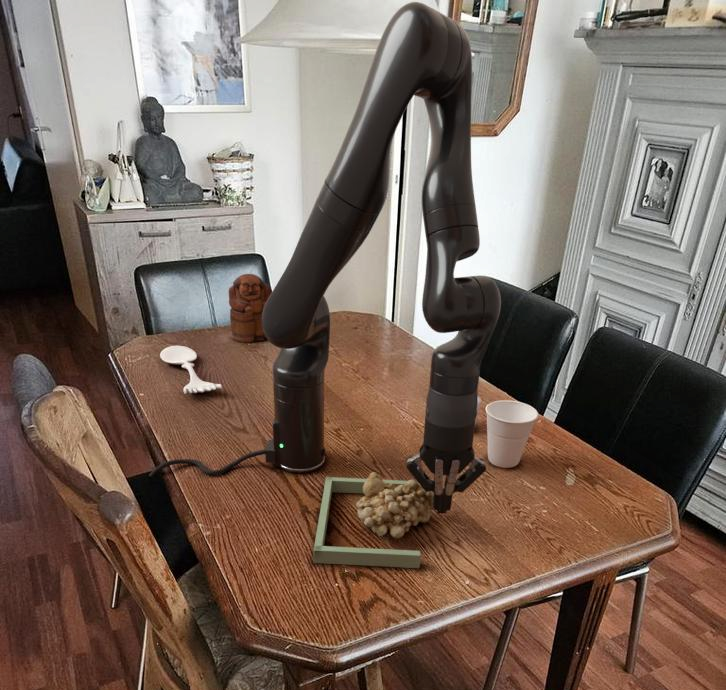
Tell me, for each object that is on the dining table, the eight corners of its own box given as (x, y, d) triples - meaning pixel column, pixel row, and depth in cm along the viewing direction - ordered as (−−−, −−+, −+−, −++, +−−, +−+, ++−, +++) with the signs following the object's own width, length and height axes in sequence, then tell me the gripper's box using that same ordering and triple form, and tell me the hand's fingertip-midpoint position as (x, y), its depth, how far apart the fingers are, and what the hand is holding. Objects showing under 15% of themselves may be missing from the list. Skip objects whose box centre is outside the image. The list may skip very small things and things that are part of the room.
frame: (313, 563, 96) (313, 550, 95) (325, 488, 114) (326, 476, 113) (419, 568, 96) (420, 555, 95) (414, 492, 114) (416, 481, 113)
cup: (518, 479, 119) (528, 427, 114) (470, 464, 124) (477, 413, 118) (535, 458, 127) (545, 408, 121) (489, 444, 131) (497, 395, 125)
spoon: (185, 404, 142) (183, 390, 141) (157, 356, 166) (155, 344, 165) (224, 398, 146) (223, 384, 144) (191, 352, 170) (190, 340, 168)
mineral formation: (442, 514, 108) (410, 558, 96) (372, 505, 114) (333, 545, 102) (440, 471, 105) (407, 511, 93) (368, 464, 111) (328, 501, 99)
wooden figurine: (236, 344, 176) (231, 279, 167) (230, 337, 181) (225, 273, 172) (276, 339, 181) (274, 275, 171) (270, 332, 186) (267, 270, 176)
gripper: (491, 405, 97) (478, 499, 106) (405, 402, 97) (400, 497, 106) (498, 427, 90) (484, 525, 100) (407, 424, 91) (401, 522, 100)
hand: (441, 510), depth 103 cm, fingers closed
